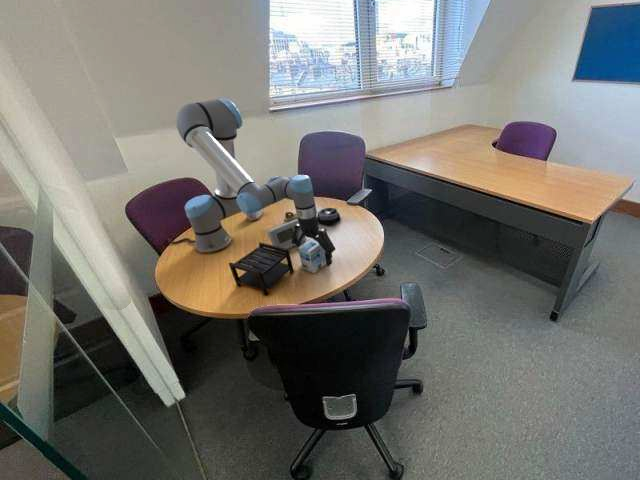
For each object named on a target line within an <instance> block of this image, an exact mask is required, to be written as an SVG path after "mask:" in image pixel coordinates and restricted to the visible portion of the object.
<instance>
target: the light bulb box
mask: <svg viewBox="0 0 640 480" xmlns="http://www.w3.org/2000/svg"><path fill="white" fill-rule="evenodd" d="M316 237H318V235H317V236H316ZM298 250H299V252H298V255H299V254H300V255H299V259H300V264H301V268H302V270H305V271H307V272H309V273H312V274H315V273H316V272H318V271H319V270H321V269H322V268H323V267H325V266H327V264H326V258H325V250H324V249H323V248H322V247H321V246H320V244H319V243H318V242H317V241H315V240H314V239H313V238H310V239H308V240H307V241H306V242H304V243H303V245H301V246H300V247H298ZM298 250H297V251H298Z"/></svg>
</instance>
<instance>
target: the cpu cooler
mask: <svg viewBox="0 0 640 480" xmlns="http://www.w3.org/2000/svg"><path fill="white" fill-rule="evenodd" d="M337 209H338V208H335V207H325V208H322V209H320V210H319V211H317V217H318V224H320V225H323V226H328V227H330V226H333V225H335V224H336V223H338V222H340V221H341V214H340V213H339V211H338V210H337Z"/></svg>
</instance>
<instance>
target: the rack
mask: <svg viewBox="0 0 640 480" xmlns="http://www.w3.org/2000/svg"><path fill="white" fill-rule="evenodd" d="M275 250H277V251H275ZM279 251H280V252H279ZM285 259H286V262H287V263H284V262H283V261H284V260H285ZM228 265H229V269H230V271H231V274H232V276H233V279H234V282H235V284H236V287H238V288H239V287H241V286H242V285H243V286H248V287H250V288H253V289H256V290H258V291H261V292H262V294H263V296H265V297H267V296H268V295H269V291H268V290H269V289H270V288H271V287H272V286H273V285H274V284H276V283H277V282H278V281H279V280H280V279H281V278H283V277H284V276H285V275H286V274H287V273H288V272H289V273H290V274H293V273H294V271H295V269H294V267H293V261H292V258H291V254H290V249H285V248H281V247H277V246H273V245H272V244H269V243H265V242H261V241H259V242H258V247H256V248H255V249H253V250H251V251H250V252H249V253H247V254H246V255H245V256H243V257H242V258H240V259H239V260H237V261H235V262H231V261H230V262H228ZM237 270H239V271H243V272H244V273H242V274H241V275H240V276H239V274H238V271H237Z"/></svg>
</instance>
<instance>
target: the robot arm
mask: <svg viewBox="0 0 640 480" xmlns="http://www.w3.org/2000/svg"><path fill="white" fill-rule="evenodd" d="M175 121H176V128H177V131H178V134H179V136H180V138H181V139H182V140H183V142H184V143H185V144H186V145H187V146H188V147H190V148H192V149H194V150H196V151H197V152H198V154H199V155H200V156H201V157H202V158H203V159H204V160H205V161H206V163H207V164H209V166H210V167H211V168H212V169H213V170H214V173H215V179H216V186H215V187H214V191H213V192H214V195H210V194H202V195H198V196H194V197H192V198H191V199H189V200H187V202H186V203H185V205H184V211H185V215H186V217H187V219H188V221H189V223H190V226H191V228H192V230H193V232H194V236H195V237H194V238H195V239H194V240H191V239H190V238H189V237H184V238H181V239H179V240H176V241H172V240H171V239H170V238H169V237H167V238H165V241H166V242H167V241H168V242H169V243H170V244H174V245H175V244H180V243H181V242H183V241H188V243H191V244H193V243H195V249H196V251H197V252H198V253H199V254H212V253H213V254H214V253H218V252H219V251H222V250H224V249H226V248H227V247H229V246H230V245H231V243H232V238H231V235H230V234H229V232H228V231H226V229H225V228H224V227H223V224H222V221H223V220H226V219H228V218H230V217H233V216H235V215H237V214H240V213H243V214H245V215H247V214H252V213H255V212H257V211H260V210H261V209H262V210H263V209H265V208H268V207H269V206H272V205H274V204H276V203H278V202H281V201H283V200H291V201H293V204H294V208H295V209H294V210H295V214H297V217H298V223H297V224H296V225H295V226H294V234H293V238H292V244H295V245H296V246H295V247H296V249H297V252H298V255H299V256H300V254H299V250H298V247H300V246H301V245H303V244H304V243H303V242H304V241H303V240H304V238H305V237H306V238H310V239H312V238H313V239H314V240H315V241H317V242H318V243H319V244H320V246H321V247H322V248H323V249H324V250H325V258H326V267H330V266H331V265H332V264H333V260H332V258H333V253H334V252H335V251H336V247H335V245H334V243H333V242H332V239H331V238H330V236H329V235H328V232H327V229H326V228H325V227H324V228H320V227H319V223H318V215H317V213H318V210H317V205H316V200H315V195H314V189H313V188H314V187H313V183H312V181H311V177H310V176H309V175H306V174H297V175H294V176H292V177H290V178H288V177H285V176H279V175H278V176H277V175H275V176H272V177H271V178H270V179H269V180H268V181H267V183H265V184H262V185H260V186H259V185H258V184H257V182H255V181H254V179H253V178H251V176H250V175H249V174H248V173H247V172H246V171H245V169H244V168H243V167H242V166H240V164H239V163H238V162H237V161H236V152H235V150H236V149H235V140H236V139H237V137H238V132H237V130H239V129H241V127H242V126H243V117H242V114H241V112H240V110H239V108H238V107H237V106H236V105H235V103H234V102H232V101H231V100H230V99H228V98H215V99H211V100H205V101H198V102H190V103H187V104H184V105H183V106H182V107H181V108H180V110H179V111H178V113H177V116H176V120H175ZM300 229H301V231H302V232H303V233H302V234H301V236H300V238H299V239H298V237H299V233H300ZM316 236H317V237H316ZM302 241H303V242H302Z"/></svg>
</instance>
